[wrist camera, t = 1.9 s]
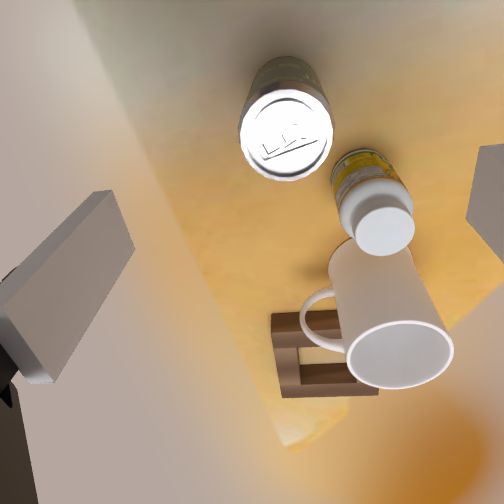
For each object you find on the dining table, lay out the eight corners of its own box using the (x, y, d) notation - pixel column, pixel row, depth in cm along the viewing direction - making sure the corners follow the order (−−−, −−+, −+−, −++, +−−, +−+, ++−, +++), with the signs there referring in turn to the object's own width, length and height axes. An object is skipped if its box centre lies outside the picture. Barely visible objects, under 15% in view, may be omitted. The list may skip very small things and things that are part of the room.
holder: (271, 313, 43) (270, 332, 41) (376, 307, 41) (382, 326, 39) (282, 378, 50) (282, 398, 47) (373, 375, 48) (378, 395, 46)
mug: (298, 299, 42) (302, 391, 32) (296, 235, 37) (300, 320, 27) (405, 296, 40) (445, 391, 30) (417, 229, 36) (470, 317, 26)
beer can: (271, 138, 32) (266, 200, 22) (239, 79, 29) (216, 118, 19) (329, 106, 30) (353, 157, 20) (300, 40, 27) (310, 61, 17)
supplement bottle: (325, 157, 32) (338, 207, 24) (388, 140, 31) (424, 187, 23) (335, 209, 35) (351, 270, 27) (394, 196, 34) (428, 255, 26)
